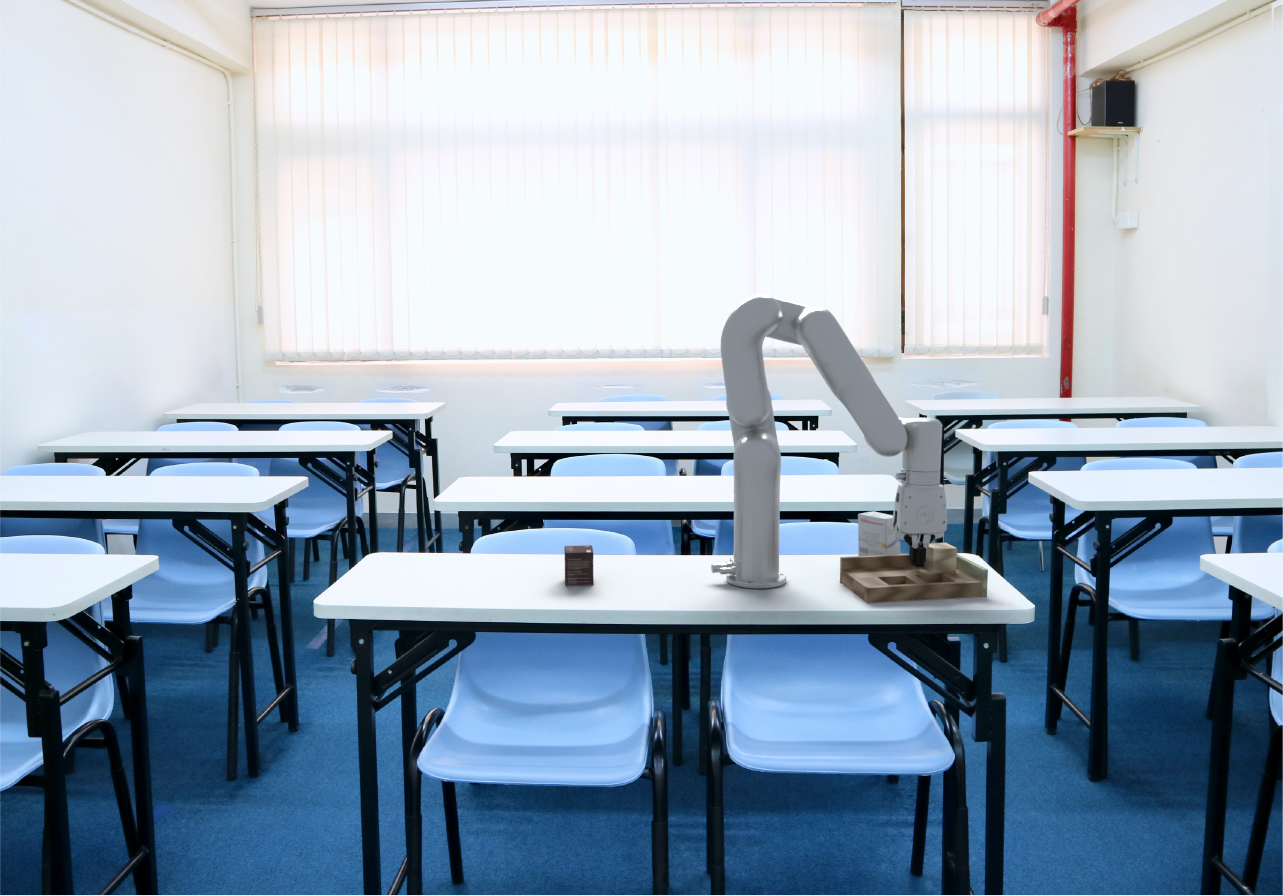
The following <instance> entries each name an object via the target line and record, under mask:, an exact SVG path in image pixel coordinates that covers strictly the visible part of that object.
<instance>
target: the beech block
mask: <svg viewBox="0 0 1283 896" xmlns="http://www.w3.org/2000/svg"><path fill="white" fill-rule="evenodd" d="M957 554H958V548H957V547H955V546H953V545H951V544H949V543H947V542H931V543H930V544H929V547H928V548H926V561H925V562H924V568H925V569H927V570H929V571H931V572H932V573H944V572H956V561H957Z"/></svg>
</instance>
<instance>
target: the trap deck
mask: <svg viewBox="0 0 1283 896" xmlns="http://www.w3.org/2000/svg"><path fill="white" fill-rule="evenodd" d="M839 564H840V565H839V568H840V569H839V583H840V584H841V585H842V584H843V585H842V586H844V587H845V588H847V589H848V590H849V591H851V592H852V593H853V594H854V595H855V596H857V597H858V598H859V599H861V600H862V601H863V602H865V603H867V604H870V603H871V604H873V603H874V604H875V603H890V602H891V603H892V602H893V603H894V602H895V603H896V602H908V601H909V602H910V601H926V600H927V601H929V600H931V601H932V600H948V599H964V598H965V599H967V598H968V599H969V598H987V597H988V578H989V569H987V568H986V567H983V566H981V565H979V564H978V563H976V562H974V561H972V560H970V559H968V558H966V557H964V556H962V555H960V554H959V553H957V561H956V572H944V573H932V572H931V571H929V570H927V569H925V568H924V567H915V566H913V565H912V564H911V562H910V561H909V553H900V554H896V555H873V556H858V555H855V556H854V555H853V556H852V555H851V556H840V561H839Z"/></svg>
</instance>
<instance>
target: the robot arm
mask: <svg viewBox="0 0 1283 896" xmlns="http://www.w3.org/2000/svg"><path fill="white" fill-rule="evenodd" d="M766 338H770V339H773V340H777V341H781V342H786V343H789V344H792V345H793V344H794V345H798V346H802V348H803V350H804V351H805V353H806V354H807V356H808V357H809V358H810V360H811V361H812V362H813V365H814V366H815V367H816V369H817V371H818V372H819V373H820V374H819V375H821V377H822V379H823V380H824V382H825V384H826V385H827V387H828V389H830V391H831V392H832V394H833V395H834V397H836V399H837V400H838V401H839V402H840V403H841V404H842V405H843V407H845V408H846V410H847V411H848V412H849V413H848V414H850V416H851V417H852V419H853V421H854V422H855V424H856V425H857V426H858V427H859V428H858V429H860V431H861V433H862V435H863V438H864V440H865V443H866V444H867V445H868V447H870V449H872V450H873V452H875V453H876V454H877V455H879V456H881V457H884V458H885V457H886V458H890V457H896V456H898V455H899V454H901V453H902V462H901V464H902V465H901V466H902V467H901V469H900V472H897V473H895V480H899V481H900V482H901V483H899V484H898V486H897V488H896V489H897V490H896V494H895V498H894V503H893V504H894V506H893V512H892V513H893V514H892V515H893V527H894V532H893V537H895V538H897V539H900V541H904V542H905V543H906V544H907V545H908V546H909V550H908V551H909V553H908V554H909V561H910V562H911V564H912V565H913V566H915V567H924V562H925V561H926V548H928V547H929V544H930V543H933V541H934V540H938V539H941V538H943V537H945V532H946V531H947V529H948V527H947V525H948V510H947V498H946V492H945V486H944V484H941V464H942V463H941V461H942V460H941V459H942V458H941V457H942V438H943V426H942V425H943V424H942V422H941V421H940V420H939V419H938V418H937V419H936V418H932V417H920V416H919V417H910V418H907V417H906V418H905V417H904V418H903V417H899V416H898V415H897V413H896V412H895V410H894V409H893V406H892V405H891V403H890V402H889V401H888V399H887V398H886V396H885V395H884V393H883V392H882V390H881V388H880V387H879V386H878V384H877V382H876V380H875V379H874V377H873V375H872V374H871V371H870V370H869V368H868V367H867V365H866V364H865V362H864V360H863V359H862V358H861V356H860V354H859V353H858V351H857V350H856V348H855V346H853V343H852V342H851V341H850V338H849V337H848V336H847V334H846V332H845V331H844V330H843V328H842V326H841V325H840V323H839V322H838V320H837V319H836V317H835V316H834V314H832V313H831V311H829V310H828V309H827V308H824V307H820V306H817V307H816V306H809V305H805V304H801V303H795V302H791V301H788V300H783V299H780V298H777V297H774V296H772V295H770V294H767V293H756V294H753V295H751V296H749V297H748V298H747V299H745V300H744V301H742V302H741V303H740V304H738V305H737V307H735V309H734V310H733V311H732V312H731V313H730V315H729V316H728V318H727V319H726V321H725V323H724V326H723V329H722V331H721V336H720V357H721V365H722V371H723V373H722V374H723V379H724V386H725V395H726V401H725V402H726V410H727V413H728V417H729V418H728V419H729V425H730V429H731V430H730V431H731V436H732V442H733V446H734V451H733V557H729V561H726V562H725V563H711V565H710V569H711V573H712V574H715V573H716V574H718V573H719V575H726V578H725V580H726V582H727V583H728V584H730V585H733V586H735V587H739V588H745V589H746V588H747V589H771V588H777V587H778V588H779V587H780V586H783V585H785V584H786V583H787V575H785V573H783V572H781V571H780V515H781V514H780V513H781V511H780V510H781V509H780V506H781V505H780V504H781V503H780V501H781V500H780V499H781V498H780V497H781V496H780V495H781V494H780V493H781V491H780V490H781V489H780V488H781V472H782V471H781V469H782V468H781V467H782V455H781V449H780V446H779V441H778V435H777V428H776V423H775V418H774V417H775V416H774V415H775V414H774V410H773V403H772V402H773V401H772V400H773V399H772V395H771V392H770V390H769V387H768V382H767V377H766V370H765V362H764V355H763V354H764V353H763V344H764V340H765V339H766ZM918 535H919V536H918Z"/></svg>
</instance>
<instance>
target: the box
mask: <svg viewBox="0 0 1283 896" xmlns="http://www.w3.org/2000/svg"><path fill="white" fill-rule="evenodd" d="M593 548H594V547H593V545H591V544H589V545H588V544H587V545H564V586H565V587H575V586H576V587H577V586H582V587H584V586H594V585H595V583H594V549H593Z"/></svg>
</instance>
